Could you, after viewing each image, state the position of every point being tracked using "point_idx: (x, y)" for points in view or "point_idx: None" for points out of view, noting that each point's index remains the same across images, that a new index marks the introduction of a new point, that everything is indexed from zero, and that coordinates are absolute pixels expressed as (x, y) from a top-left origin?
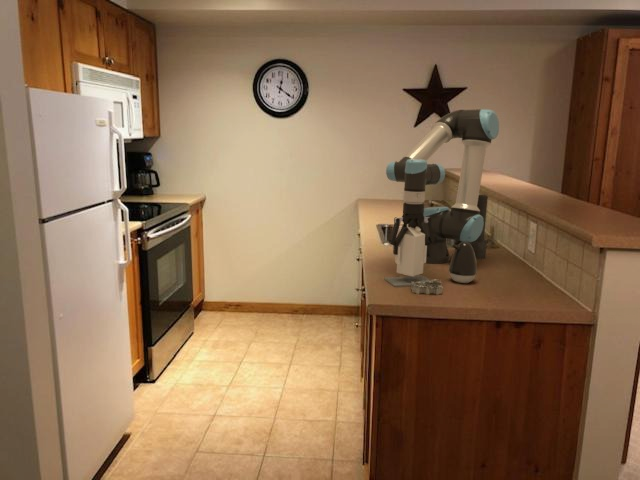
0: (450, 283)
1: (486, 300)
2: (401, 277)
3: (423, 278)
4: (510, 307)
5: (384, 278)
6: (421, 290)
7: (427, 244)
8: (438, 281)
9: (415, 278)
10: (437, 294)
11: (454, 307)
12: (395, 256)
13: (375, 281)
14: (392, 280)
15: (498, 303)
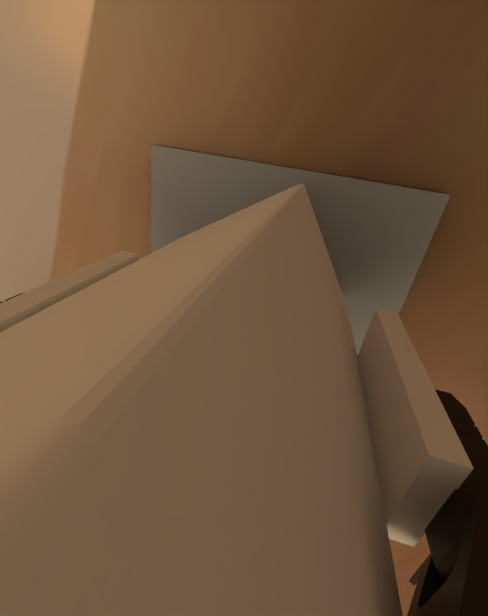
0: (483, 376)
1: (398, 557)
2: (260, 184)
3: (387, 261)
4: (407, 609)
5: (153, 150)
6: None
7: (436, 570)
8: None
9: (334, 241)
10: None
11: None
12: (84, 273)
13: (94, 175)
14: (174, 226)
15: (408, 584)
